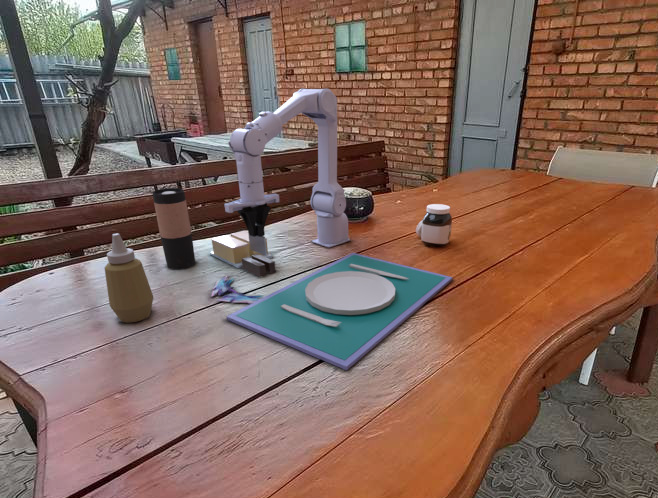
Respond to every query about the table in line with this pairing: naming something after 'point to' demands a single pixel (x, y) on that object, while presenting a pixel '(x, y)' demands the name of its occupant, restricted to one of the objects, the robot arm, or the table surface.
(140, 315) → the squeeze bottle
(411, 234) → the table surface
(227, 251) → the cake
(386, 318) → the place mat
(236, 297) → the decorative blades
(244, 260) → the stand
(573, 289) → the table surface
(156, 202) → the travel mug
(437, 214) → the spread jar
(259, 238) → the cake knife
